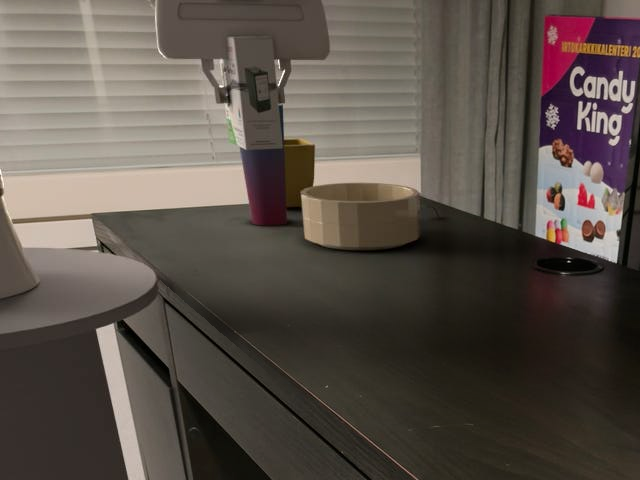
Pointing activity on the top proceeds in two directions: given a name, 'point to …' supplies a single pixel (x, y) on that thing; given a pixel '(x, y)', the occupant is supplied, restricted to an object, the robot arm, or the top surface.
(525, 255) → the top surface
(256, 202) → the cup
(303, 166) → the flower pot
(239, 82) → the ink box
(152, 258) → the top surface
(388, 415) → the top surface
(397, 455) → the top surface
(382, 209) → the bowl
